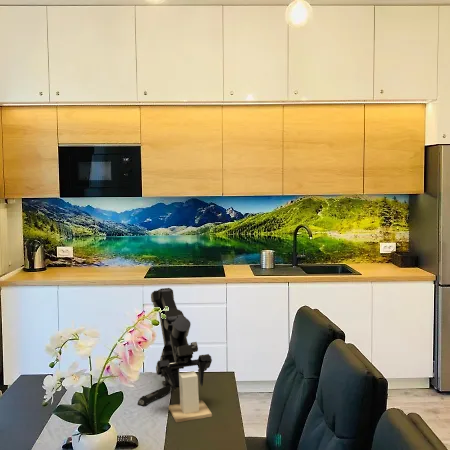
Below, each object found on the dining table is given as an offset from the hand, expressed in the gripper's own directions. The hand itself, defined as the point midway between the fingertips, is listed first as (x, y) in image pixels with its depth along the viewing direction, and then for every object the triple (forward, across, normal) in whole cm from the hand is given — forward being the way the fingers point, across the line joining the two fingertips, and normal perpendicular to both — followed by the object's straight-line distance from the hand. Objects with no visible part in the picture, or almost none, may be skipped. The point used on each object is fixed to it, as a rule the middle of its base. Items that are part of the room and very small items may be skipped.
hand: (188, 387), depth 182 cm
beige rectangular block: (+5, 0, +5) cm, 7 cm away
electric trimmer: (-5, -9, +18) cm, 21 cm away
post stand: (+6, 0, +6) cm, 8 cm away
